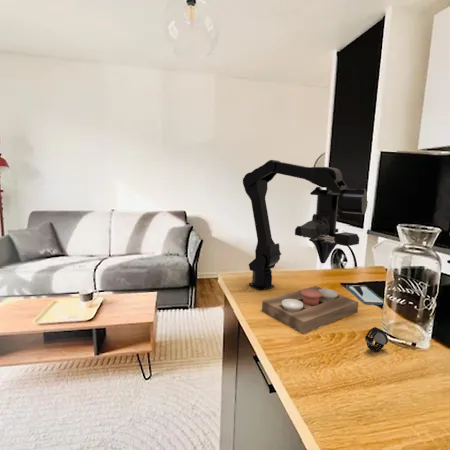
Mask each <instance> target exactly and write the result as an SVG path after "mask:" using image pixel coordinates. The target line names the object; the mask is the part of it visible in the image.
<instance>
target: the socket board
mask: <svg viewBox="0 0 450 450" xmlns="http://www.w3.org/2000/svg"><path fill="white" fill-rule="evenodd" d="M309 288H310V289H316V290H319V289H324V288H322V287H320V286H317V285H314V286H311V287H309ZM301 290H302V289H300V290H296V291H291V292H288V293H285V294H280V295H278V296H273V297H270V298H267V299H263V300H262V302H261V311H262V312H263V313H265V314H268V316H271V317H273V318H274V319H276V320H278V321H280V322H282V323H283V324H285V325H287V326H288V327H290V328H292V329H293V330H295V331H297V332H300V333H301V334H303V335H304V334H306V333H309V332H311V331H313V330H316V329H319V328H321V327H323V326H325V325H328V324H331V323H333V322H336V321H338V320H341V319H343V318H346V317H348V316H351V315H353V314H355V313H358V310H359V301H358V300H354V299H352V298H349V297H346V296H344V295H341V294H339V293H338V296H337V298H335V299H333V300H330V301H329V300H326V299H324V298H321V297H320V298H319V304H318V305H315V306H309V305H307V304H305V303H303V296H302V295H301ZM284 299H296V300H299V301H301V302H302V303H303V308H302V309H301V310H300V311H297V312H294V313H292V312H290V311H288V310H286V309H284V307H283V306H282V301H283V300H284Z"/></svg>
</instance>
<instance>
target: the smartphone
mask: <svg viewBox="0 0 450 450" xmlns="http://www.w3.org/2000/svg"><path fill="white" fill-rule="evenodd" d="M345 288H346V290H347V291H349V292H350V293H351V294H353V296H354V297H356V298H357V299H358V300H359V301H360V302H361V303H362V304H364V305H368V306H370V305H374V306H376V305H377V306H383V305H382V304H383V300H384V299H383V298H382V297H381V296H379V295H378V294H377V293H375V292H374V291H373V290H372V289H371V288H369V287H368V286H367V285H360V284H359V285H357V284H354V285H352V284H349V285H348V284H346V286H345Z"/></svg>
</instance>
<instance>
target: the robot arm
mask: <svg viewBox="0 0 450 450" xmlns="http://www.w3.org/2000/svg"><path fill="white" fill-rule="evenodd" d="M342 174H343V173H342V171H341V170H340V169H338V168H336V167H329V166H312V167H311V166H310V167H309V166H306V165H305V166H304V165H299V164H293V163H289V162H283V161H280V160H274V159H270V160H268V161H266V162H265V163H264V164H262V165H261V166H258V167H257V168H255V169H253V170H252V171H250V172H247V173H246V174H245V175H244V176H243V178H242V185H243V188H244V191H245V194H246V195H247V196H248V198H249V199H250V201H251V207H252V209H251V210H252V215H253V221H254V226H255V232H256V238H257V244H256V246H255V252H254V253H255V254H254V255H255V258H254V259H253V260H251V262H249V263H248V267H249V270H250V271H251V272H252V282H250V283H248V285H249V286H251V287H253V288H254V289H257V290H259V291H263V290H267V289H272V288H275V285H274V284H272V280H273V274H272V273H273V272H272V269H274V268H275V267H276V265H277V264H278V262H279V261H280V258H281V255H282V253H281V250H280V243H275V241H274V240H273V238H272V231H271V226H270V219H269V212H268V207H267V201H266V196H267V192H268V183H269V182H271V181H272V180H273V179H275V178H274V177H276V175H284V176H289V177H294V178H296V179H297V178H298V179H302V180H306V181H308V182H310V183H311V184H313V185H316V187H315V188H314V189H313V190H312V191H310V192H309V193H310V195H311V196H317V199H316V212H315V213H314V214H313V215H312V217H311V220H309V221H307V222H305V223H303V224H302V225H298V226H296V227H295V229H294V236H298V237H303V238H308V240H309V241H310V242H312V244H313V245H314V247H315V248H316V252H317V255H318V260H319V262H320V264H325V263H326V262H327V260H328V259H329V257H330V255H331V253H332V251H333V250H334V249H335V247H336V246H337V245H339V246H344V247H350V246H355V245H359V244H360V237H359V235H358V233H353V232H347V231H345V232H339V228H336V227H337V220H338V219H340V215H339V214H338V209H339V210H340V211H341V212H342V213H345V214H356V215H358V214H359V215H365V214H366V212H367V209H368V203H369V201H368V196H367V189H366V188H358V189H355V188H349V187H348V186H347V185H346V183H345V181H344V180H343V175H342ZM322 188H324V189H322ZM325 188H327V189H325ZM333 192H335V193H333ZM338 192H339V193H338Z"/></svg>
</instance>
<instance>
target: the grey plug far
mask: <svg viewBox="0 0 450 450" xmlns="http://www.w3.org/2000/svg"><path fill="white" fill-rule="evenodd" d="M319 291H320V292H321V293H322V296H321V298H324V299H326V300H329V301H330V300H333V299H335V298H337V296H338V294H339V293H338V292H337V291H336V290H334V289H330V288H323V289H319Z"/></svg>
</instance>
